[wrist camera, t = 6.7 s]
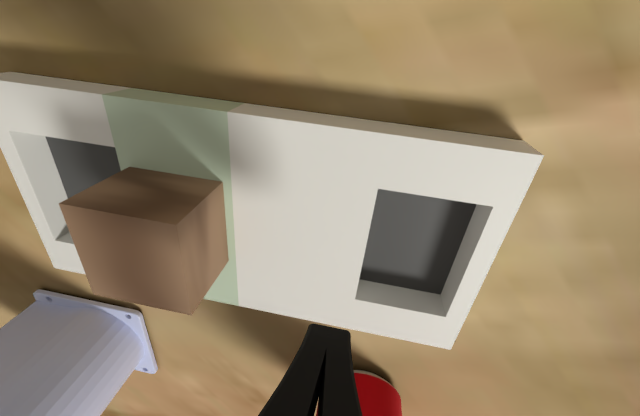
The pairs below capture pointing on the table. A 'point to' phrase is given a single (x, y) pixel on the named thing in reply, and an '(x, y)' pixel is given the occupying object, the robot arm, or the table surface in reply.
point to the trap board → (287, 197)
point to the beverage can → (376, 395)
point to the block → (150, 237)
